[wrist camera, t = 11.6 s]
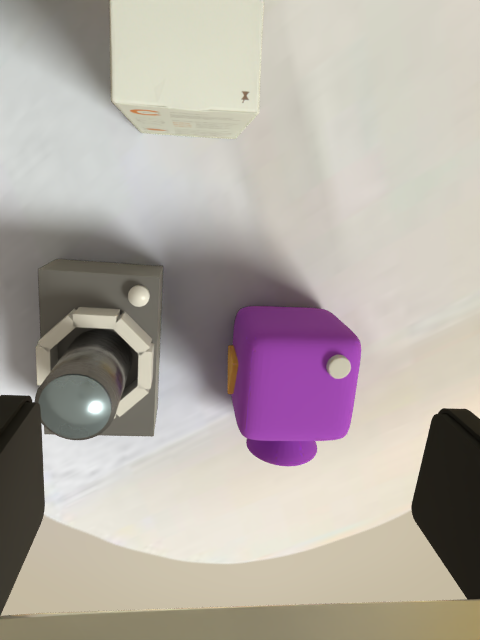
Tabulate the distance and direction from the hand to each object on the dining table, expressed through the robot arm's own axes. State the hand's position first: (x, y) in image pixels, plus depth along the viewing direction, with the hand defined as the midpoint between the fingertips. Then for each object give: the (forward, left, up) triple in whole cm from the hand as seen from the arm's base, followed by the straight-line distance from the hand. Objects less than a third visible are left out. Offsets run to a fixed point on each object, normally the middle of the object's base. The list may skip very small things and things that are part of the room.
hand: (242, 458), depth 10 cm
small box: (-13, -2, -31) cm, 33 cm away
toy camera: (+10, +8, -31) cm, 33 cm away
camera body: (+8, -8, -30) cm, 32 cm away
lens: (+8, -8, -25) cm, 28 cm away
